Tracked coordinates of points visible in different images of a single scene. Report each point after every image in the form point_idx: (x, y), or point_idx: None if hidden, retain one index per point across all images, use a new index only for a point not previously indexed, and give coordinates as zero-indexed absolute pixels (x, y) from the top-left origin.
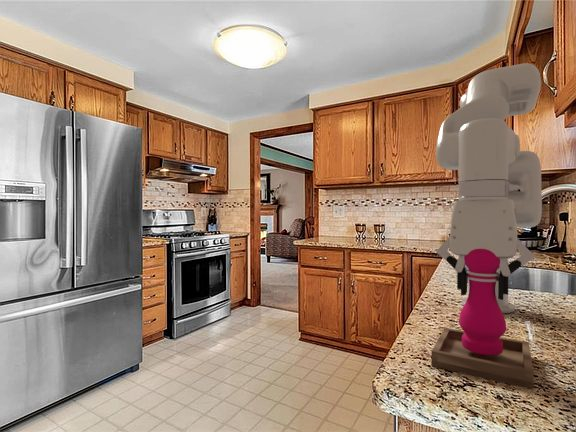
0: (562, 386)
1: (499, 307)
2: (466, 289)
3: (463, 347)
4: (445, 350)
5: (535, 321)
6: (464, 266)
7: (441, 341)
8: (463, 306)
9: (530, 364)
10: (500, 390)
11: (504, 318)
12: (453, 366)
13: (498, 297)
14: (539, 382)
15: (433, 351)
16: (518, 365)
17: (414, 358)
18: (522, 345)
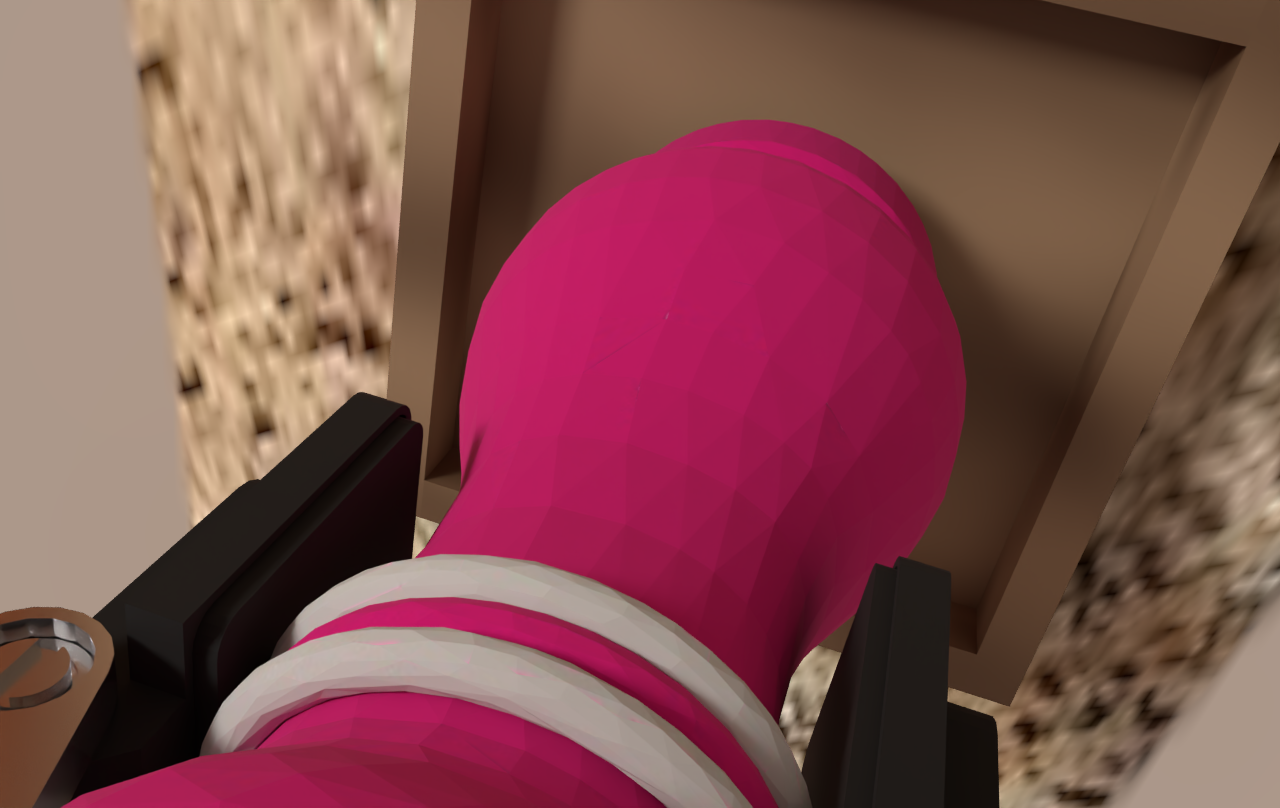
0: (1249, 553)
1: (864, 577)
2: (388, 542)
3: (636, 135)
4: (489, 263)
5: None
6: (90, 751)
7: (428, 277)
8: (460, 448)
9: (1053, 586)
10: (799, 666)
11: (925, 526)
12: None
13: (803, 773)
14: (1102, 527)
15: None
16: (1020, 413)
17: (312, 354)
18: (1208, 129)
